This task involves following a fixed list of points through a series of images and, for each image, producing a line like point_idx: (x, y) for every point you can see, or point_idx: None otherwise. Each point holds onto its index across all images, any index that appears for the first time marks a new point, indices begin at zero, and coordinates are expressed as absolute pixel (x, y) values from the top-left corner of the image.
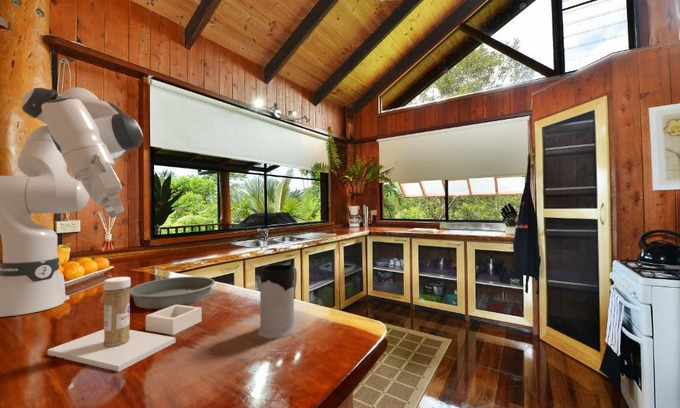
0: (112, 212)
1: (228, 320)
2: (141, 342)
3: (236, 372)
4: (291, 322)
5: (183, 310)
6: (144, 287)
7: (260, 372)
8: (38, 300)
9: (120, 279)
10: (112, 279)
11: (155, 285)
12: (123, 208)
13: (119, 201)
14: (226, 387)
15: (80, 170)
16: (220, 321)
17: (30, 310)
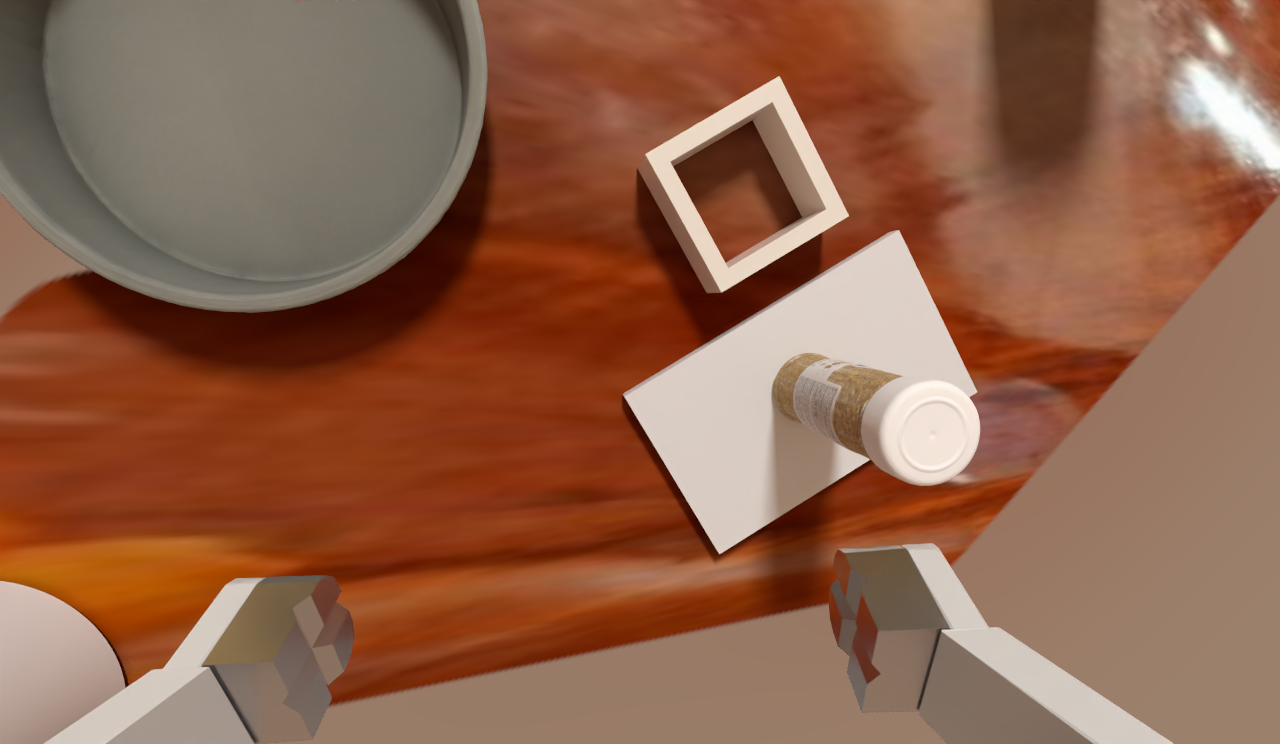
0: (306, 676)
1: (825, 5)
2: (861, 325)
3: (1176, 154)
4: None
5: (706, 142)
6: (60, 209)
7: (1218, 107)
8: (59, 688)
9: (968, 424)
10: (932, 454)
11: (14, 136)
12: (950, 567)
13: (1053, 687)
14: (1212, 200)
15: None
16: (812, 36)
17: (112, 685)
